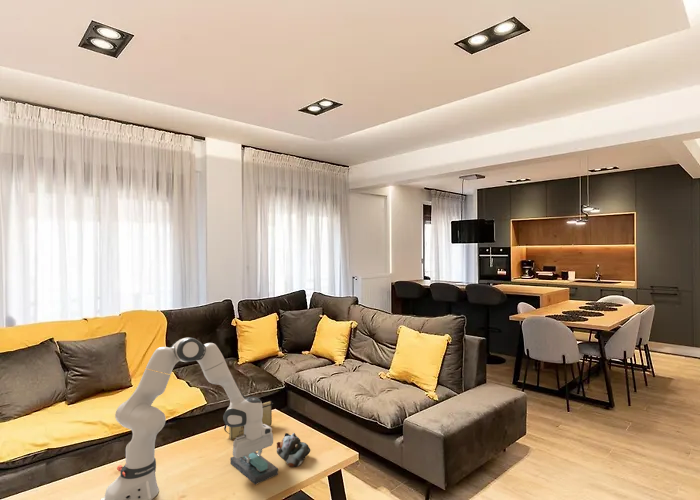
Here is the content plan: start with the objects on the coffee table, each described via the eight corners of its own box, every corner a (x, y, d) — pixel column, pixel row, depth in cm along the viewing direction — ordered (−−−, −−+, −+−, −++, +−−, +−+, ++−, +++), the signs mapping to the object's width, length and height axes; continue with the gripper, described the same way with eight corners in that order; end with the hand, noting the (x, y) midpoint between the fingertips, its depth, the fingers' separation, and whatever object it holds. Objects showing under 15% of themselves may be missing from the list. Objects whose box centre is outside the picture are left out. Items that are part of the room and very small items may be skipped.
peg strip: (260, 476, 185) (260, 466, 185) (240, 459, 200) (240, 449, 200) (267, 473, 188) (267, 463, 188) (246, 457, 202) (246, 447, 202)
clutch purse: (268, 422, 246) (268, 397, 246) (274, 426, 241) (274, 401, 241) (221, 437, 226) (221, 411, 226) (227, 442, 221) (227, 415, 221)
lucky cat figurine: (295, 470, 192) (281, 444, 193) (281, 471, 200) (267, 446, 200) (315, 449, 203) (302, 425, 204) (301, 451, 211) (289, 427, 212)
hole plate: (255, 484, 181) (255, 478, 181) (230, 463, 199) (230, 457, 199) (277, 474, 189) (277, 468, 189) (252, 455, 207) (252, 449, 207)
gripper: (236, 441, 184) (236, 471, 185) (274, 427, 198) (274, 455, 198) (230, 436, 189) (230, 465, 189) (268, 423, 203) (268, 450, 203)
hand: (253, 460), depth 194 cm, fingers closed on peg strip, 3 cm apart
